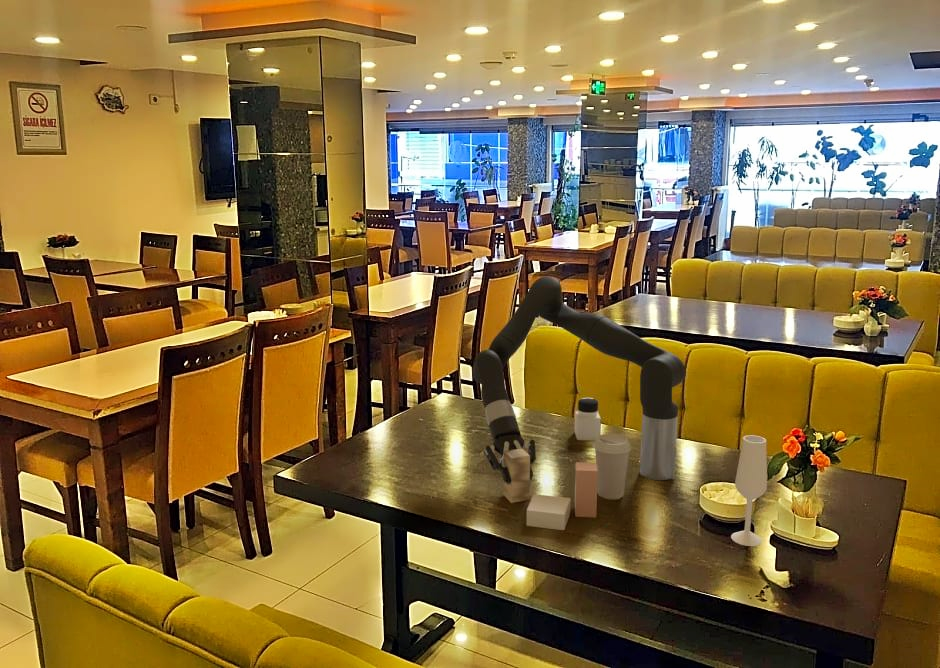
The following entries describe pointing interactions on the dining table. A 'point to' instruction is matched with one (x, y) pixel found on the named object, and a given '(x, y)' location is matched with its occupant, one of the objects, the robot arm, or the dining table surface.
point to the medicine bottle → (587, 420)
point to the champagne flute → (751, 482)
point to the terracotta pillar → (586, 489)
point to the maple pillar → (518, 475)
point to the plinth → (548, 512)
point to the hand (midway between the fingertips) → (519, 481)
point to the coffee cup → (611, 464)
